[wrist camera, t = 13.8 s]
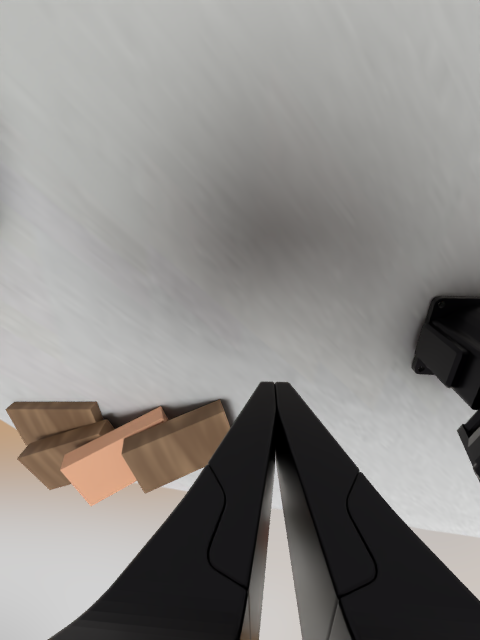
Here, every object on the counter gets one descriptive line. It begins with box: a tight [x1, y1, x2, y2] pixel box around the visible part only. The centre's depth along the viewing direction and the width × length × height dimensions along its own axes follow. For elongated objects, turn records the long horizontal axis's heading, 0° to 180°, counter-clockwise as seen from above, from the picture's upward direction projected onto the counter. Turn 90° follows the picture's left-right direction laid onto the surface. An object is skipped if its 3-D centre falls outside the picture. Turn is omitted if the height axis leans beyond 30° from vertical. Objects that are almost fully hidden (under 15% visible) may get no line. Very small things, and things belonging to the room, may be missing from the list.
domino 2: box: [18, 419, 115, 490], centre depth 27 cm, size 2×5×9 cm
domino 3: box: [60, 406, 168, 506], centre depth 25 cm, size 2×5×9 cm
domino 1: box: [6, 402, 103, 445], centre depth 28 cm, size 2×5×9 cm
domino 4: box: [121, 399, 230, 493], centre depth 25 cm, size 2×5×9 cm
